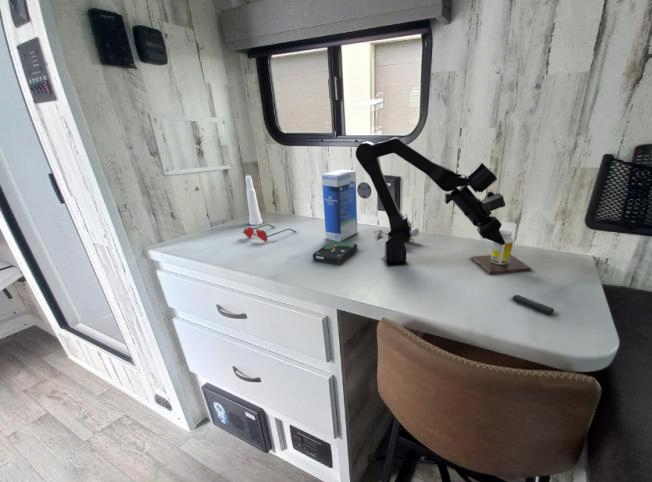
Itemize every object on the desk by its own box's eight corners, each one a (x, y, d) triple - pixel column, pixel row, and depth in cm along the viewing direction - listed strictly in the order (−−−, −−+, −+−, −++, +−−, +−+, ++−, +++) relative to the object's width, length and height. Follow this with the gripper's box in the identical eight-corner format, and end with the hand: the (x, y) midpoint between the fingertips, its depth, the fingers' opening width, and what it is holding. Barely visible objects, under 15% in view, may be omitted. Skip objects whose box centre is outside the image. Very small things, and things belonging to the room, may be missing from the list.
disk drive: (339, 266, 101) (357, 250, 113) (339, 258, 100) (357, 243, 112) (312, 261, 104) (332, 246, 117) (311, 254, 103) (332, 239, 116)
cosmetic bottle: (252, 221, 150) (244, 174, 140) (264, 221, 149) (257, 174, 140) (247, 224, 144) (238, 176, 135) (259, 225, 144) (251, 176, 134)
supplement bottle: (509, 260, 101) (515, 230, 96) (508, 266, 96) (514, 235, 92) (491, 257, 103) (496, 228, 99) (489, 263, 99) (494, 233, 94)
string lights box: (343, 230, 135) (341, 169, 124) (358, 233, 132) (356, 170, 121) (325, 239, 125) (320, 173, 114) (340, 242, 121) (337, 174, 110)
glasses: (243, 238, 127) (241, 226, 125) (273, 227, 140) (272, 216, 138) (266, 243, 120) (264, 231, 118) (296, 232, 133) (294, 221, 131)
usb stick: (554, 313, 74) (555, 307, 74) (549, 316, 73) (551, 311, 72) (516, 297, 81) (517, 292, 80) (511, 301, 79) (512, 296, 79)
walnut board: (489, 274, 94) (489, 271, 93) (470, 259, 104) (471, 256, 104) (530, 270, 96) (531, 267, 95) (508, 256, 106) (509, 253, 106)
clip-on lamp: (370, 247, 123) (409, 247, 112) (366, 233, 121) (405, 231, 110) (385, 237, 132) (423, 235, 121) (381, 223, 129) (420, 220, 118)
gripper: (499, 190, 82) (533, 231, 85) (483, 179, 98) (512, 214, 102) (465, 218, 86) (499, 256, 89) (455, 203, 102) (484, 235, 106)
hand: (499, 239), depth 97 cm, fingers open, 9 cm apart
